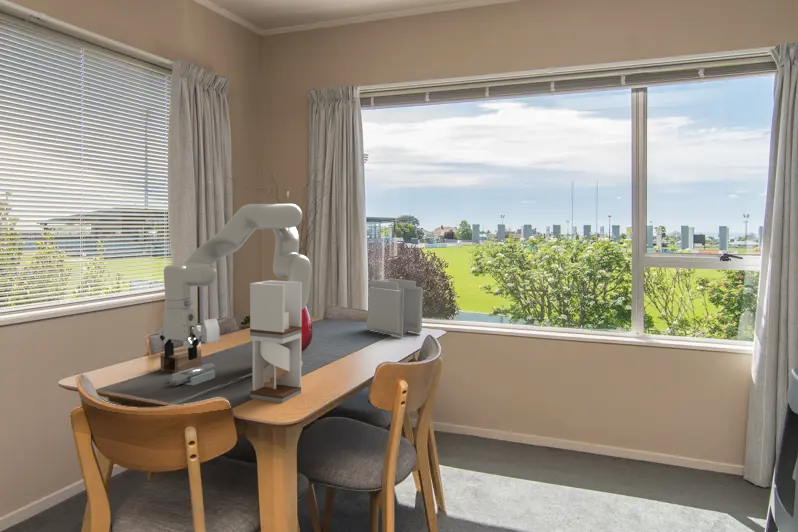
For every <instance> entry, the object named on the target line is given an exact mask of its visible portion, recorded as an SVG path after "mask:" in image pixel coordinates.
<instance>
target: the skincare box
mask: <svg viewBox="0 0 798 532" xmlns="http://www.w3.org/2000/svg"><path fill="white" fill-rule="evenodd" d="M201 329H202V326H201V325H197V330H198V331H200V332H201ZM195 339H196V338H195ZM190 341H191V342H192V340H190ZM182 342H183V345H182V347H189V345H188V344H187V342H186V341H182ZM197 349H201V350H202V342H201V341H200V343H199V345H198V346H197Z"/></svg>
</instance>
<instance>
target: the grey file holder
mask: <svg viewBox="0 0 798 532" xmlns="http://www.w3.org/2000/svg"><path fill="white" fill-rule="evenodd" d="M370 281H371V282H370V286H369V287H368V306H367V307H368V313H367V314H368V317H367V318H366V330H367V329H369V330H374V331H378V332H382V333H386V334H389V335H391V334H393V335H392V336H398V337H404V334H407V333H406V332H408V333H409V332H413V333H417V334H421V332H422V331H423V296H424V295H423V293H424V292H423V290H424V289H423V287H421V286H417V282H416V281H414V280H407V279H397V278H390V277H388V279H371V280H370ZM403 333H404V334H403Z"/></svg>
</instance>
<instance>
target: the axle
mask: <svg viewBox="0 0 798 532" xmlns="http://www.w3.org/2000/svg"><path fill="white" fill-rule="evenodd" d="M212 370H213V371H215V372H216V370H217V367H216V365H215V364H214V363H213V362H210V363H207V364H203V365H201V366H199V367H196V368H193V369H190V370H187V371H184V372H180V373H177V374H175V373H173V374H174V375H172V374H171V375H170V376H169V379H168V380H169V381H168V382H169V384H170V385H171V386H172V387H176V386H180V385H184V384H183V383H186V382H189V381H191V377H194V376H197V375H200V374H203V373H206V372H209V371H212Z"/></svg>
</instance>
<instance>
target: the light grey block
mask: <svg viewBox="0 0 798 532" xmlns="http://www.w3.org/2000/svg"><path fill="white" fill-rule="evenodd" d="M218 322H219V321H218V318H208V319H204V320H203V322H202V326H201V333H202V334H203V335H202V338H201V343H203V342H206V343H205V344H209V343H208V342H211V343H214V342H213V341H216V342H219V341H220V326H219V323H218ZM218 340H219V341H218Z"/></svg>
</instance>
